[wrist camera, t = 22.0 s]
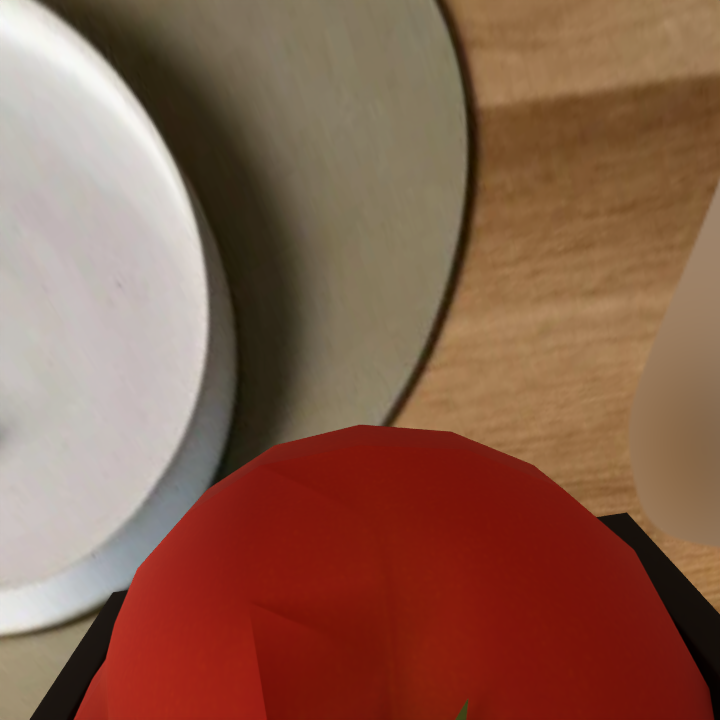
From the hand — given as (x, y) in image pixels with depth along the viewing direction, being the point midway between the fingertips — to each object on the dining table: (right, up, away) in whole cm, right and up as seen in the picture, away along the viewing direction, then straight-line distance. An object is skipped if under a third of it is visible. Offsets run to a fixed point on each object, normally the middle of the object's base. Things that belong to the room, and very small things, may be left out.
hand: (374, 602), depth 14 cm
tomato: (0, 0, 0) cm, 0 cm away
